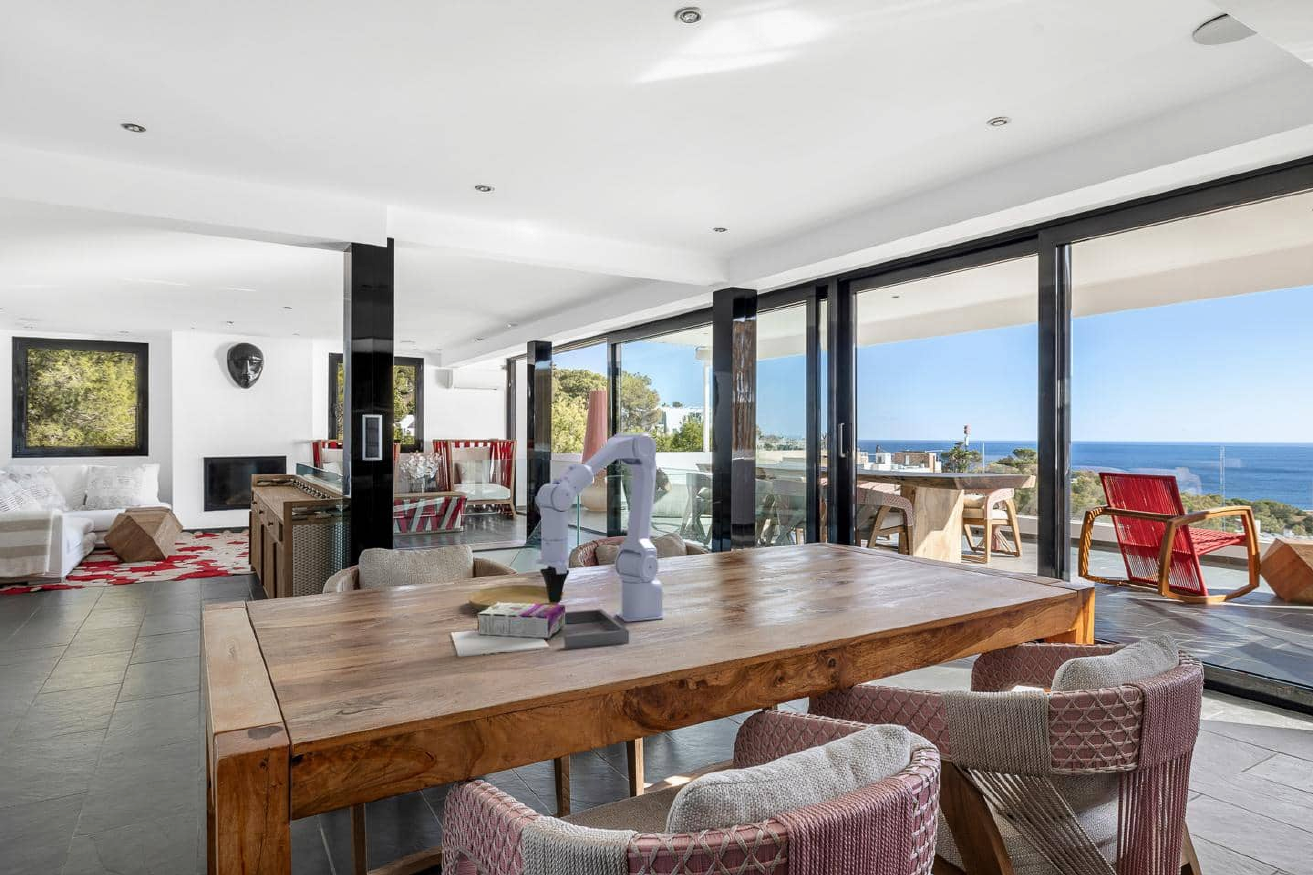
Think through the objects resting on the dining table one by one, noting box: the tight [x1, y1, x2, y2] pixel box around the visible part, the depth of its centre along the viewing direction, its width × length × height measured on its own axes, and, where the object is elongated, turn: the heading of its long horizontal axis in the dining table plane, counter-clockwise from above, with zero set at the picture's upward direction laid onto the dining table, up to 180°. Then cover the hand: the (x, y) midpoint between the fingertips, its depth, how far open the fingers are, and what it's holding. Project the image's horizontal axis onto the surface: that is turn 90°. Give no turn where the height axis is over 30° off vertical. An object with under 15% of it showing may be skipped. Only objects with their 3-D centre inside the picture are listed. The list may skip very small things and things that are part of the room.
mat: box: [450, 629, 550, 658], centre depth 159 cm, size 18×18×1 cm
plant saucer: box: [467, 584, 565, 612], centre depth 192 cm, size 24×24×3 cm
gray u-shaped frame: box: [563, 608, 630, 650], centre depth 165 cm, size 14×21×2 cm, turn 20°
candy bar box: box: [477, 602, 566, 639], centre depth 165 cm, size 11×5×16 cm
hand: (554, 601), depth 163 cm, fingers closed
